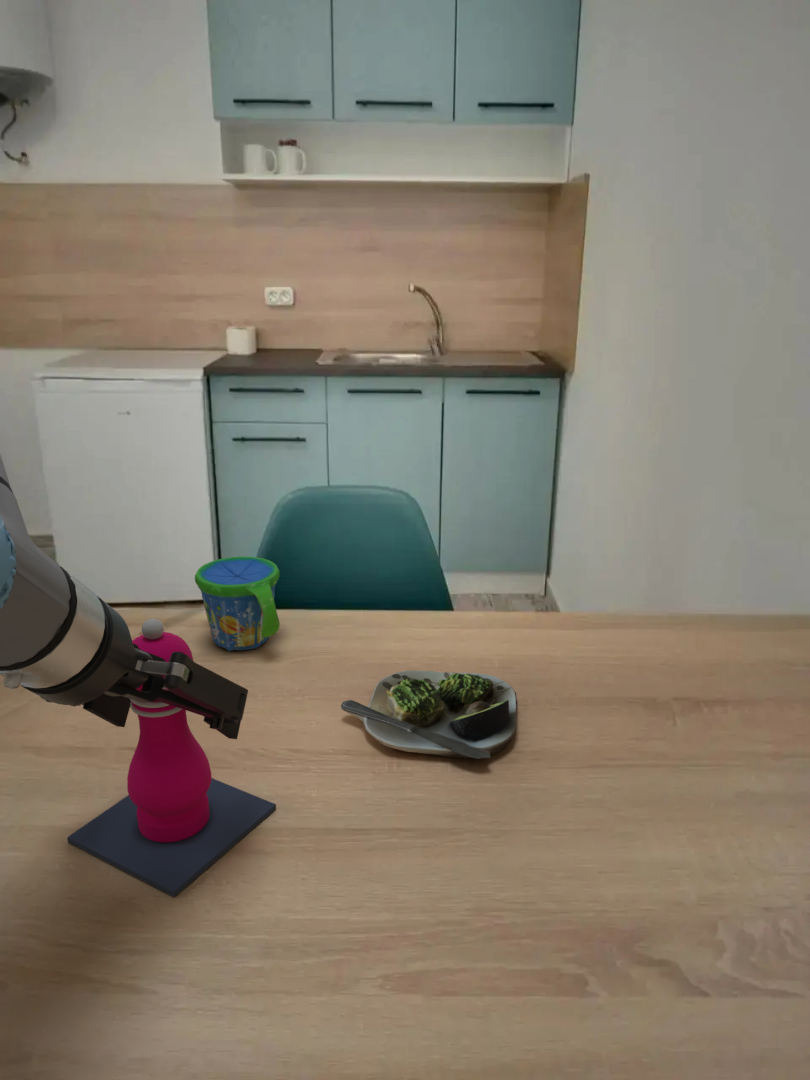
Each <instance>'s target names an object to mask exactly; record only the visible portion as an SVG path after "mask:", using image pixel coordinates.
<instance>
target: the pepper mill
mask: <svg viewBox="0 0 810 1080" xmlns="http://www.w3.org/2000/svg"><path fill="white" fill-rule="evenodd" d="M132 642H133V643H134V644H136V645H137V646H138V647H139V649H140V650H143V651H145V652H148V653H150V654H153V655H156V656H158V657H161V658H163V659H164V660H165V661H166V662H169V659H170V657H171V654H172V653H173V652H182V653H184V654H186V655H188V656H189V657H190V658H191V659H192V660H193V661H194V656H193V653H192V650H191V647H190V646H189V644H188V643H187V642H186V641H185V640H184V639H183V638H182V637H180V636H179V635H177V634H175V633H172V632H167V631H165V627H164V623H162V621H160V620H159V619H157V618H149V619H147V620H145V621H144V622H143V624H142V625H141V635H138V636H137V637H135V638H133V639H132ZM142 686H143V684H142V685H141V686H140V687H139V688H137V689H136V690H139V691H141V690H142ZM130 700H131V703H130V709H131V711H132V712H133V713H134V714H135V715H137V718H138V724H139V735H138V742H137V745H136V748H135V750H134V752H133V755H132V758H131V761H130V763H129V767H128V773H127V778H126V779H127V780H126V781H127V782H126V784H127V786H126V787H127V794H128V795H129V797H130V799H131V800H132V802H133V803H134V804H135V805H136V806H137V820H138V827H139V830H140V832H141V834H142V835H143V836H144V837H146V838H148V839H150V840H152V841H156V842H176V841H180V840H183V839H186V838H189V837H191V836H193V835H195V834H196V833H198V832H199V831H200V830H201V829H202V828H203V827H204V826H205V825H206V823H207V821H208V819H209V802H208V796H207V794H206V792H207V791H208V789H209V787H210V784H211V778H213V777H212V769H211V765H210V762H209V759H208V757H207V755H206V753H205V751H204V749H203V747H202V746H201V744H200V743H199V742H198V740H197V739H196V737H195V736H194V735H193V733H192V731H191V728H190V727H189V723H188V717H187V710H184V709H181V708H178V707H175V706H172V705H169V704H166V703H163V702H160V701H157V700H155V701H153V702H144V703H143V702H139V701H136V700H133V699H130Z"/></svg>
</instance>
